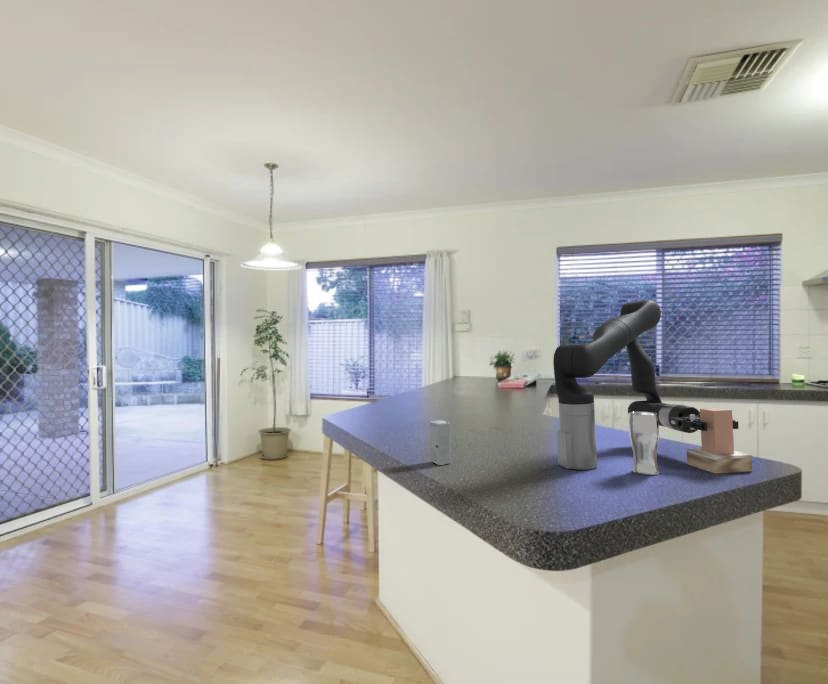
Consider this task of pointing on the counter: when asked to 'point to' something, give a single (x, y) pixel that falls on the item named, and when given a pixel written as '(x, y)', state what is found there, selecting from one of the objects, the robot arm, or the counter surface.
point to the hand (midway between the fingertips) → (721, 425)
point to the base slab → (719, 461)
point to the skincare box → (440, 441)
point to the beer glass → (644, 442)
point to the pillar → (717, 431)
